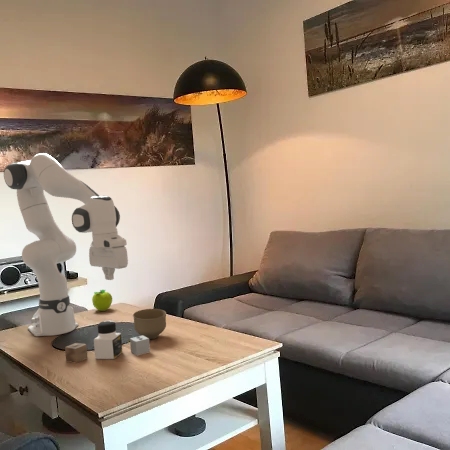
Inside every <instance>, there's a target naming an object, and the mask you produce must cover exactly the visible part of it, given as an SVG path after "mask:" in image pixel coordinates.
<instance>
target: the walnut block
mask: <svg viewBox="0 0 450 450" xmlns="http://www.w3.org/2000/svg"><path fill="white" fill-rule="evenodd" d="M87 347H88V346H87V344H86V343H82V342H73V343H72V344H70V345H67V346H65V347H64V349H65V361H66V362H71V363H75V364H77V363H80V362H82V361H84V360H86V359H89V357H88V348H87Z"/></svg>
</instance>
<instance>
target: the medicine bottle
mask: <svg viewBox="0 0 450 450" xmlns="http://www.w3.org/2000/svg"><path fill="white" fill-rule="evenodd" d="M116 328H117V325H116V321H113V320H104V321H101V322H99V323H98V324H97V333H98V335H97V337H95V338H93V347H94V349H93V350H94V358H95V359H96V360H115V359H116V358H117V357H118V356H120V355H121V354H122V353H123V343H122V333H121V332H117V329H116Z"/></svg>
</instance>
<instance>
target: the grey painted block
mask: <svg viewBox="0 0 450 450" xmlns="http://www.w3.org/2000/svg"><path fill="white" fill-rule="evenodd" d="M129 343H130V353H132V354H133V355H135V356H141V355H144V354H149V353H151V349H150V347H151V346H150V339H149V338H147V337H145V336H143V335H142V336H141V335H139V336H134V337H130V338H129Z"/></svg>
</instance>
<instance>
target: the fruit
mask: <svg viewBox="0 0 450 450" xmlns="http://www.w3.org/2000/svg"><path fill="white" fill-rule="evenodd" d="M91 301H92V306H93V308H95V309H96V310H97V311H99V312H101V311H102V312H105V311H108V309H109V308H110V307H112V303H113V296H112V295H111V293H110V292H108V291H106V289H100V290H99V291H94V292H93V296H92V297H91Z"/></svg>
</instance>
